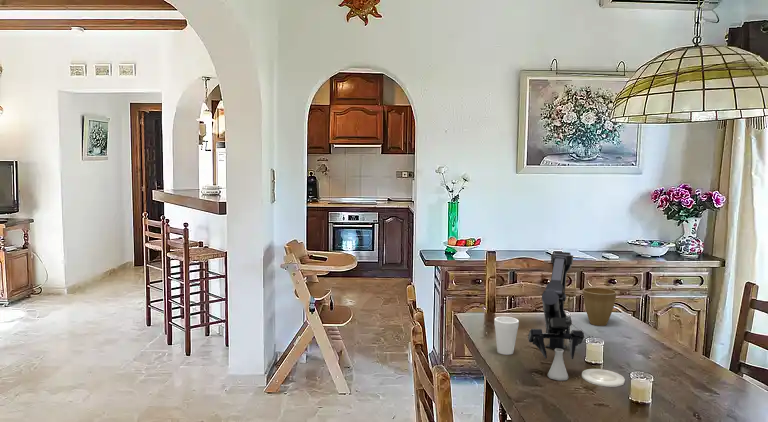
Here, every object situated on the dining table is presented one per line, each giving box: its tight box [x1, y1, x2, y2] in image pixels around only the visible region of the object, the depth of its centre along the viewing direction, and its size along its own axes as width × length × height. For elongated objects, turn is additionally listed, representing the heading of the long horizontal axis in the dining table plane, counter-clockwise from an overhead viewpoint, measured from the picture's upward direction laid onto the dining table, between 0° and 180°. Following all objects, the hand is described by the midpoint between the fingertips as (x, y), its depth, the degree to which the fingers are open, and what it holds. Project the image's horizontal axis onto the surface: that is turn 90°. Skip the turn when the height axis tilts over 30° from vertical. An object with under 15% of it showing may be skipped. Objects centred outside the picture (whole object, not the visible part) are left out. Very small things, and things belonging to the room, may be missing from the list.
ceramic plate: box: [581, 368, 626, 388], centre depth 199 cm, size 14×14×1 cm
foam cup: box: [493, 316, 520, 356], centre depth 225 cm, size 10×9×13 cm
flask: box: [547, 348, 569, 381], centre depth 200 cm, size 7×7×10 cm
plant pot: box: [582, 287, 618, 327], centre depth 267 cm, size 15×15×16 cm
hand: (559, 358), depth 199 cm, fingers open, 9 cm apart
